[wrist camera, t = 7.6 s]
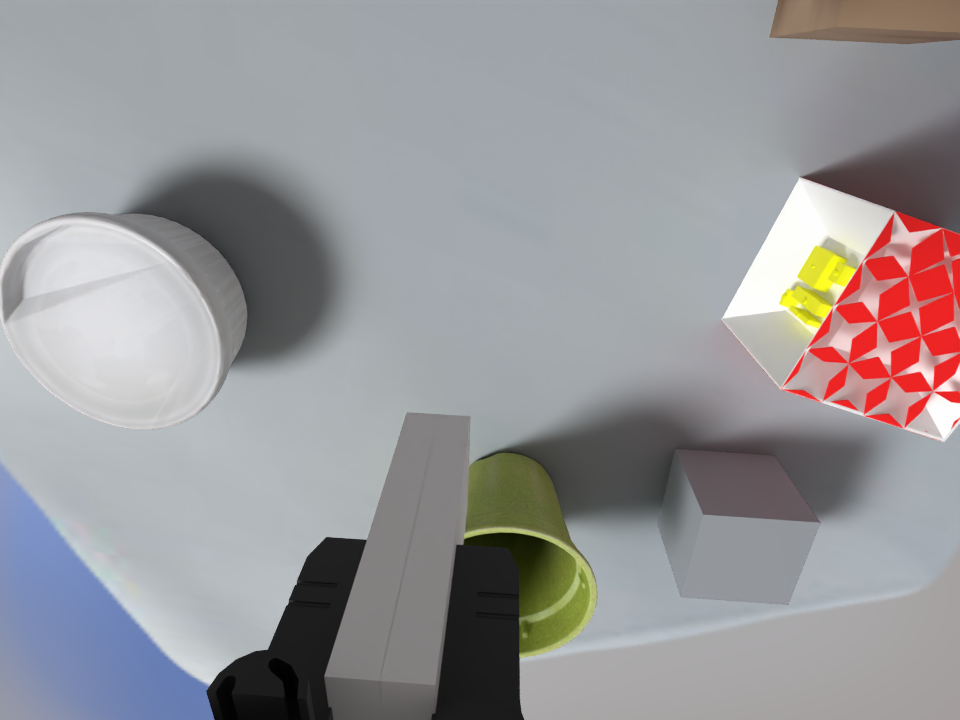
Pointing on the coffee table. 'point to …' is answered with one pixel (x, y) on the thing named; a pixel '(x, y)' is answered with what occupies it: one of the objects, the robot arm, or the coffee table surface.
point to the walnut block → (868, 20)
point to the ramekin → (122, 316)
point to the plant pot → (531, 548)
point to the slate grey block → (734, 527)
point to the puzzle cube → (857, 310)
